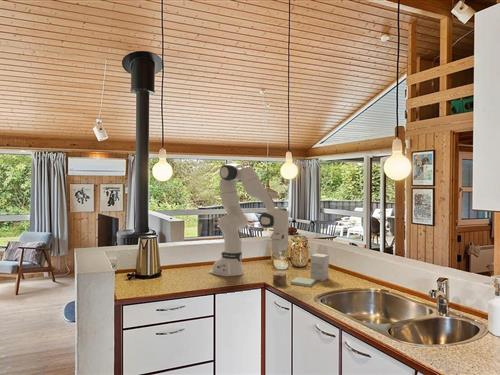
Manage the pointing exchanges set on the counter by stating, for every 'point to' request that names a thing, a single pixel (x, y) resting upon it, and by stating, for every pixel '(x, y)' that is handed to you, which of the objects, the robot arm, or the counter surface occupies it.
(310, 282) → the plate
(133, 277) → the counter surface
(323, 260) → the supplement box
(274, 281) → the block
